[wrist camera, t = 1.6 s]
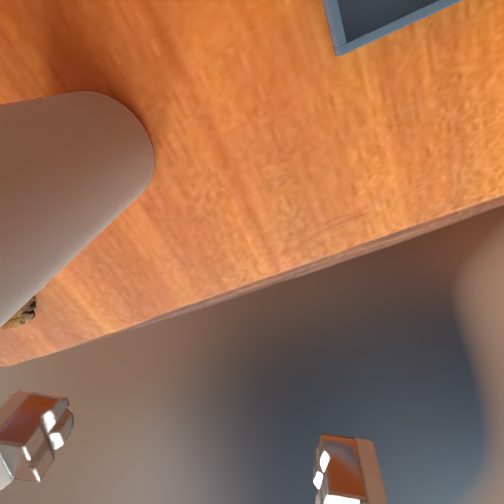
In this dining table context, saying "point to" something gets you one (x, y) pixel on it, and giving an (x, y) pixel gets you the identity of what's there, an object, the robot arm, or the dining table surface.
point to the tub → (373, 19)
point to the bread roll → (22, 315)
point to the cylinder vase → (62, 183)
